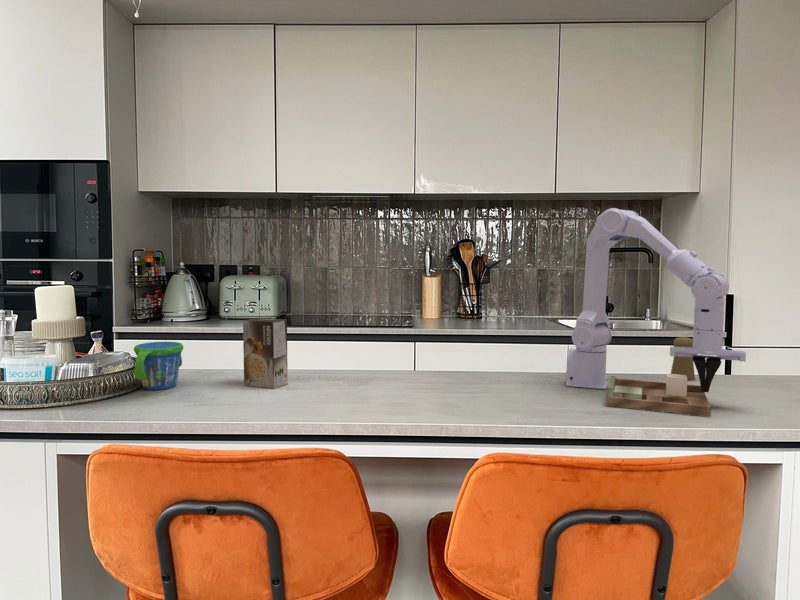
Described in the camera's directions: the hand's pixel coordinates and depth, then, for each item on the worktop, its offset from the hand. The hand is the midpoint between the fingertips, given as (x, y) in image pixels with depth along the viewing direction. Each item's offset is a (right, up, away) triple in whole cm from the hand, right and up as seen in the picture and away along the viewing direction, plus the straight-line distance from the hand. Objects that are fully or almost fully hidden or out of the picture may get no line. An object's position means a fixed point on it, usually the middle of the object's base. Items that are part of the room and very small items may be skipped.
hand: (704, 391), depth 128 cm
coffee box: (-99, -1, +15) cm, 101 cm away
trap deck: (-10, -3, +1) cm, 11 cm away
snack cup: (-124, -1, +11) cm, 124 cm away
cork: (+9, -1, +29) cm, 30 cm away
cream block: (-5, -1, +2) cm, 6 cm away
